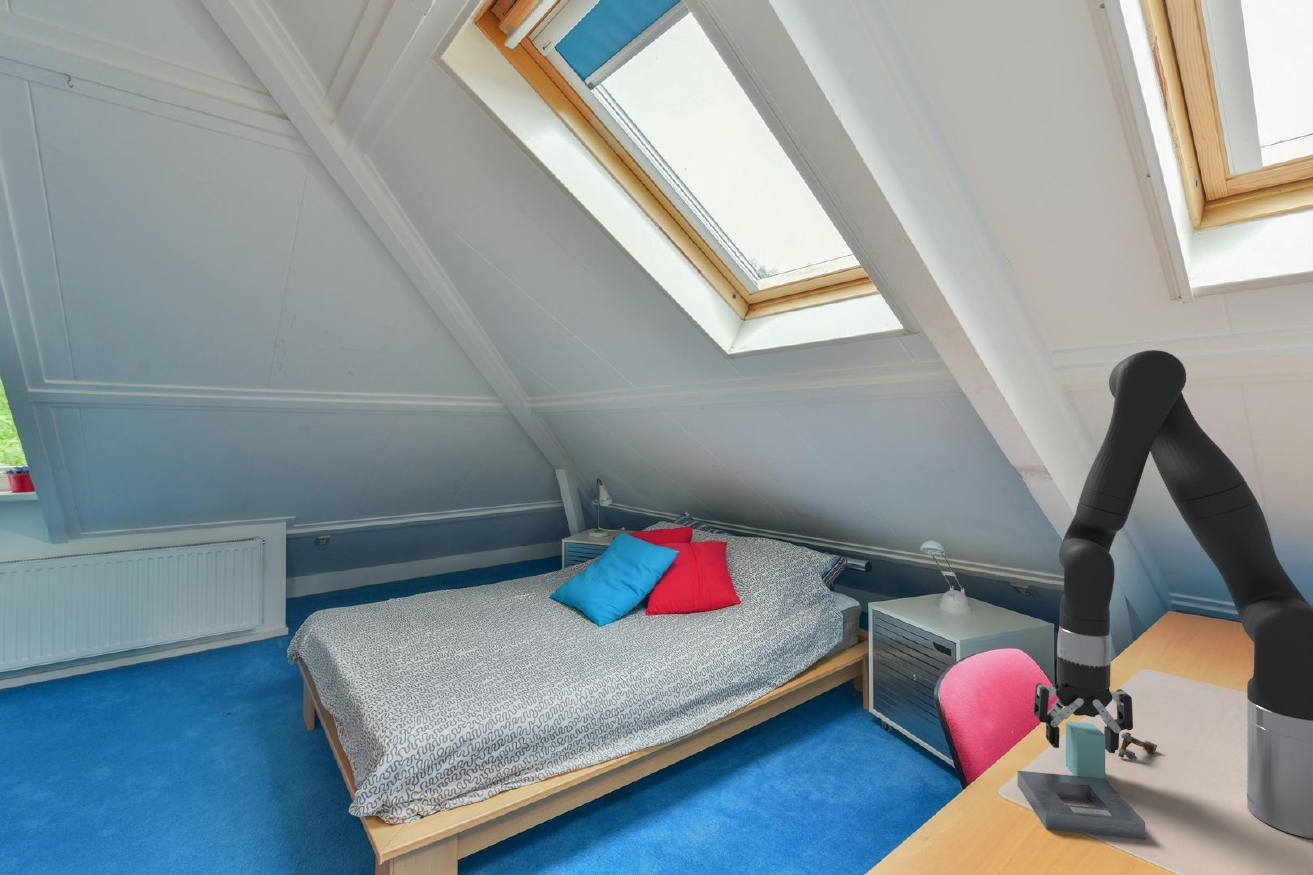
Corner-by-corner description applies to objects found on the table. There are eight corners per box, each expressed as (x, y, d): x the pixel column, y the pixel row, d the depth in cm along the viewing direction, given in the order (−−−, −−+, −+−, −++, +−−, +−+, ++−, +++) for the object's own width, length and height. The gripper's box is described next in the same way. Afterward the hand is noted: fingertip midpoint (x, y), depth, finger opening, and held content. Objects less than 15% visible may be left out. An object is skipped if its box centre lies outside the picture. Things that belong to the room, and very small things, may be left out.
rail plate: (1105, 793, 98) (1105, 777, 98) (1145, 838, 87) (1145, 821, 87) (1017, 785, 101) (1017, 769, 101) (1045, 828, 90) (1045, 811, 90)
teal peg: (1092, 768, 105) (1092, 723, 105) (1105, 782, 101) (1105, 735, 101) (1065, 766, 106) (1065, 721, 106) (1077, 780, 102) (1077, 733, 102)
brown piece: (1111, 752, 109) (1118, 728, 109) (1139, 763, 111) (1146, 739, 111) (1121, 757, 107) (1129, 733, 107) (1150, 768, 109) (1157, 743, 110)
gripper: (1118, 650, 106) (1116, 741, 106) (1028, 644, 109) (1027, 732, 109) (1143, 667, 98) (1141, 765, 99) (1046, 660, 101) (1044, 755, 102)
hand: (1081, 748), depth 104 cm, fingers open, 8 cm apart
